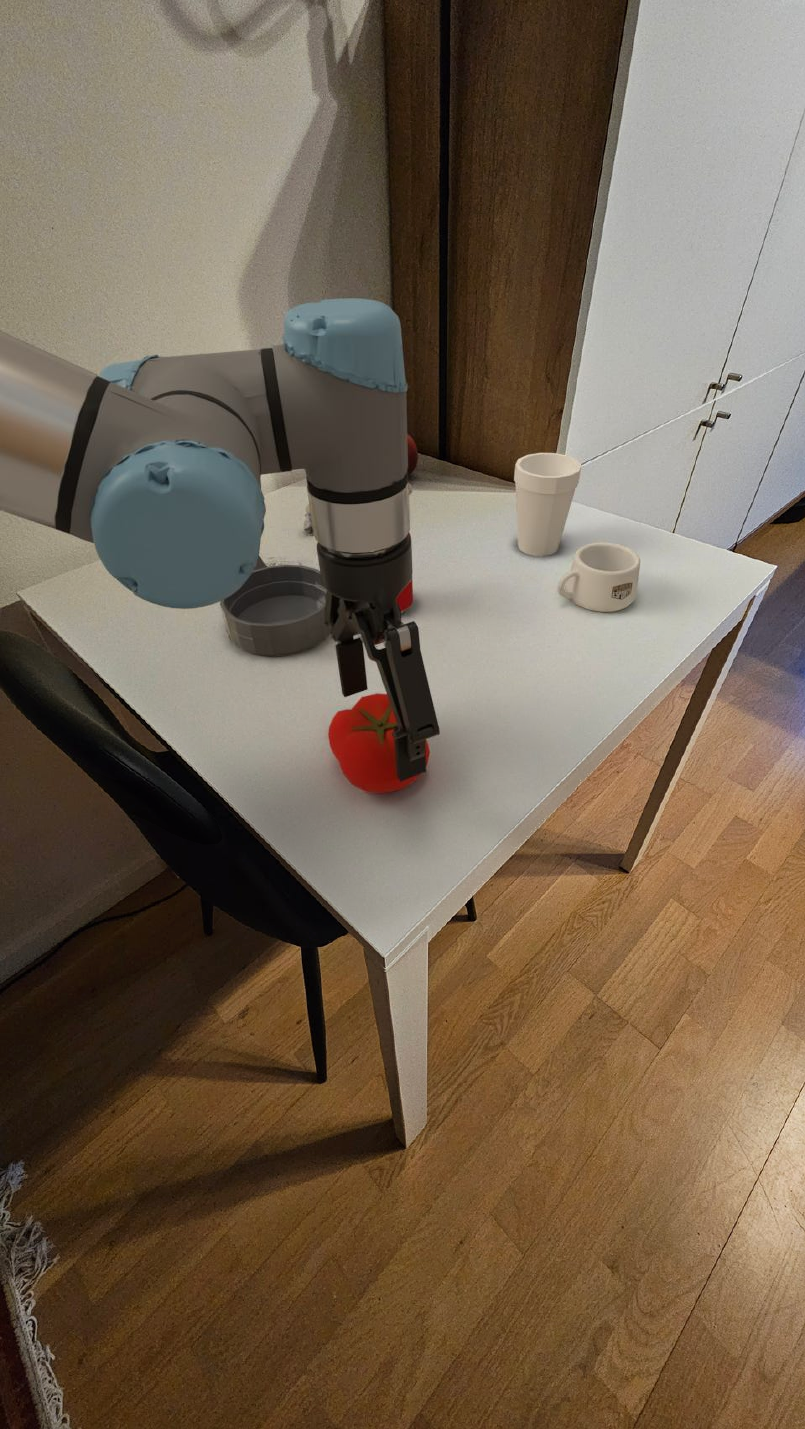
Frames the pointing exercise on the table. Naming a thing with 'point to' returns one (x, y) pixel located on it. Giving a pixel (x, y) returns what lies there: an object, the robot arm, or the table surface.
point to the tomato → (368, 745)
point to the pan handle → (260, 564)
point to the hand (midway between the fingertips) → (381, 730)
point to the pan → (277, 611)
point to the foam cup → (544, 500)
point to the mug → (602, 577)
